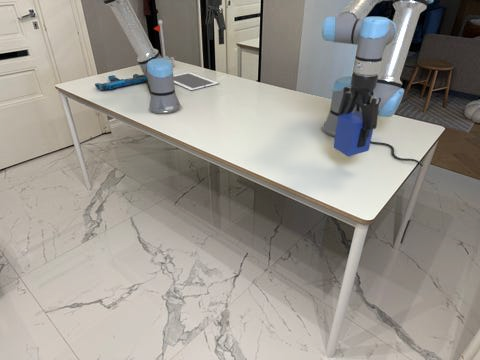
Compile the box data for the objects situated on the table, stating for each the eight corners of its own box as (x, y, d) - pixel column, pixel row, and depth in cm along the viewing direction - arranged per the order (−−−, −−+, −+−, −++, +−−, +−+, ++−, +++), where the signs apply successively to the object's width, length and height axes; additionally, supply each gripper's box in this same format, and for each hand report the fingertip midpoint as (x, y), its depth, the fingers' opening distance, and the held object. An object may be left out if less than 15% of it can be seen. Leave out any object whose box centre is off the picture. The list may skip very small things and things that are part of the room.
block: (352, 141, 122) (358, 110, 115) (368, 150, 116) (375, 118, 109) (333, 147, 118) (338, 115, 112) (348, 156, 112) (354, 124, 106)
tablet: (163, 78, 216) (163, 77, 215) (189, 72, 227) (189, 71, 226) (191, 90, 195) (191, 90, 195) (219, 83, 206) (219, 83, 206)
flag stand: (172, 63, 247) (168, 18, 231) (176, 67, 237) (171, 20, 221) (154, 64, 243) (148, 19, 227) (158, 69, 233) (151, 21, 217)
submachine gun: (139, 68, 225) (158, 74, 208) (140, 74, 226) (158, 80, 210) (87, 78, 206) (103, 86, 189) (89, 84, 208) (104, 92, 191)
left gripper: (197, -6, 176) (200, 38, 187) (218, -2, 157) (219, 47, 169) (210, -6, 179) (212, 37, 190) (232, -2, 160) (232, 45, 172)
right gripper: (333, 67, 109) (323, 132, 121) (382, 84, 94) (366, 156, 106) (351, 64, 112) (340, 127, 124) (401, 80, 97) (383, 151, 109)
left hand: (216, 41), depth 179 cm, fingers open, 13 cm apart
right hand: (352, 141), depth 115 cm, fingers closed on block, 8 cm apart
